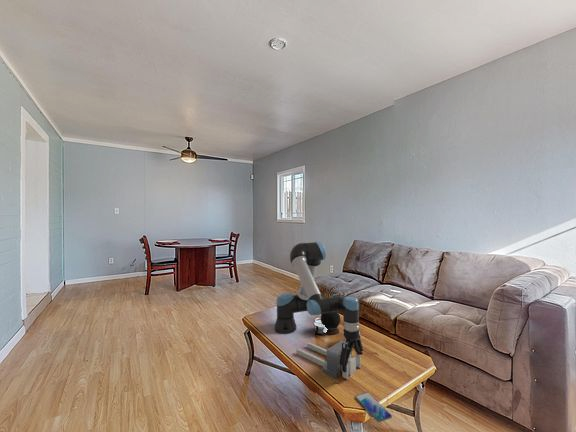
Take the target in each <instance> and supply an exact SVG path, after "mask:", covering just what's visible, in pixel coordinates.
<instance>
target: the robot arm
mask: <svg viewBox="0 0 576 432" xmlns="http://www.w3.org/2000/svg"><path fill="white" fill-rule="evenodd" d="M326 257H327V250H326V248H325V245H324V244H323V242H318V241H313V242H299V243H297V244H295V245H294V246H293V247H292V248H291V251H290V254H289V261H290V264H291V266H292V268H295V272H296V274H297V276H298V278H299V280H300V286H299V287H300V288H299V289H298V290H297V291H296V294H293V293H291V292H287V293H281V294H279V295H278V296H277V298H276V303H275V304H276V320H275V324H274V332H276V333H278V334H284V335H285V334H286V335H287V334H293V333H294V332H296V331H297V324H296V321H295V317H294V315H295V313H296V314H297V313H302V312H307V313H308V314H309V316H310V315H311V316H319V315H320V316H321V314H324V313H331V312H338V313H339V312H340V313H341V314H343V315H342V316H343V324H342V325H343V337H344V339H345V338H346V342H345V343H342V350H341V356H340V362H339V364H340V365H342V371H341V372H342V378H344V379H345V380H348V379H349V374H348V365H347V363H348V359H349V355H350V352H351V351H353V349H354V351H355V353H354V357H356V368H359V369H361V368H362V367H361V366H362V362H361V361H362V359H361V355H363V352H364V348H363V344H362V341H361V338H360V336H361V334H360V335H359V332H360V329H359V328H360V322H359V321H360V320H359V319H360V311H359V310H360V305H359V298H357V297H355V296H352V295H351V296H350V295H349V296H343V295H341V294H338V293H334V294H332V295H331V296H330V297H323V295H322V293H321V291H320V289H319V286H318V284H317V282H316V281H315V279H316V275H317V271H318V270H317V269H318V267H319V266H321V262H322V261H324V260H326ZM348 348H350V349H348Z"/></svg>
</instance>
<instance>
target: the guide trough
mask: <svg viewBox="0 0 576 432" xmlns="http://www.w3.org/2000/svg"><path fill="white" fill-rule="evenodd" d="M306 344H307V346H306V347H307V348H308V349H310V350H312V351H315V352H316V353H320V354H322V355H324V356H325V357H326V356H327V349H325V348H324V347H321V346H318V345H316V344H314V343H312V342H307V343H306ZM296 354H297V355H298V356H300V357H303V358H305V359H307V360H309V361H311V362H313V363H315V364H317V365H319V366H321V367H322V368H323V367H324V366H327V361H326V359H325V360H324V359H322V358H320V357H319V356H315V355H314V354H312V353H310V352H307V351H306V350H303V349H301V348H297V349H296Z"/></svg>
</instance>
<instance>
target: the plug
mask: <svg viewBox="0 0 576 432" xmlns="http://www.w3.org/2000/svg"><path fill="white" fill-rule="evenodd" d="M325 361H327V356H326V355H325ZM347 365H348V376H352V375H353V374H355V373H356V372H357V367H356V357H355V355H353V354H352V355H349V359H348V363H347ZM340 372H342V365H340Z"/></svg>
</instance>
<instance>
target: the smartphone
mask: <svg viewBox="0 0 576 432" xmlns="http://www.w3.org/2000/svg"><path fill="white" fill-rule="evenodd" d="M354 398H355V400H356V401H357V402H358V403H359V404H360V403H361V404H362V405H363V406H364V407H365V408H366V409H367V410H366V409H365V408H364V407H363V406H362V405H361V404H360V405H361V406H362V407H363V408H364V409H365V410H366V411H367V412H368V413H369V415H371V417H372V418H373V419H374V420H375V422H377V423H381V422H384V421H387V420H389V419H392V418H393V415H392V414H391V413H390V412H389V411H388V410H387V409H386V408H385V407H384V406H383V405H382V404H381V403H380V402H379V401H377V399H376V398H375V397H374V396H373V395H371V393H370V392H368V391H367V392H364V393H359V394H357V395H355V396H354Z"/></svg>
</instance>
